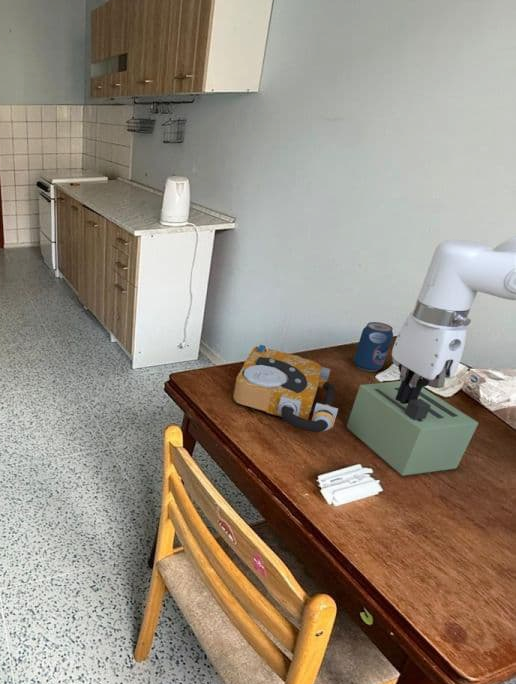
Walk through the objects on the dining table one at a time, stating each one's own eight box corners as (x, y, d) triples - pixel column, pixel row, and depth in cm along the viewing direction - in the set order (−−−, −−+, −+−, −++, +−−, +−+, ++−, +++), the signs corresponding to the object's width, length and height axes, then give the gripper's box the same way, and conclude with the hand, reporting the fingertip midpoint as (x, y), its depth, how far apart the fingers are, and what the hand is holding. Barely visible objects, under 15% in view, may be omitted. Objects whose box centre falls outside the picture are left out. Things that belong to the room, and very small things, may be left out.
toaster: (394, 421, 106) (410, 379, 101) (456, 468, 92) (479, 422, 87) (346, 427, 105) (360, 384, 100) (402, 475, 91) (421, 429, 86)
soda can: (375, 375, 125) (388, 334, 119) (347, 365, 129) (360, 325, 124) (385, 367, 128) (399, 326, 123) (359, 358, 133) (371, 318, 127)
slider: (415, 411, 90) (420, 398, 89) (425, 418, 88) (431, 405, 87) (404, 412, 90) (409, 399, 89) (414, 420, 88) (419, 406, 87)
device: (350, 357, 116) (336, 418, 94) (341, 386, 120) (326, 450, 98) (255, 337, 127) (223, 387, 105) (250, 364, 131) (218, 418, 109)
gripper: (498, 328, 76) (456, 421, 85) (423, 296, 89) (393, 380, 98) (458, 332, 75) (419, 425, 84) (388, 299, 88) (360, 383, 97)
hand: (405, 401), depth 91 cm, fingers closed
